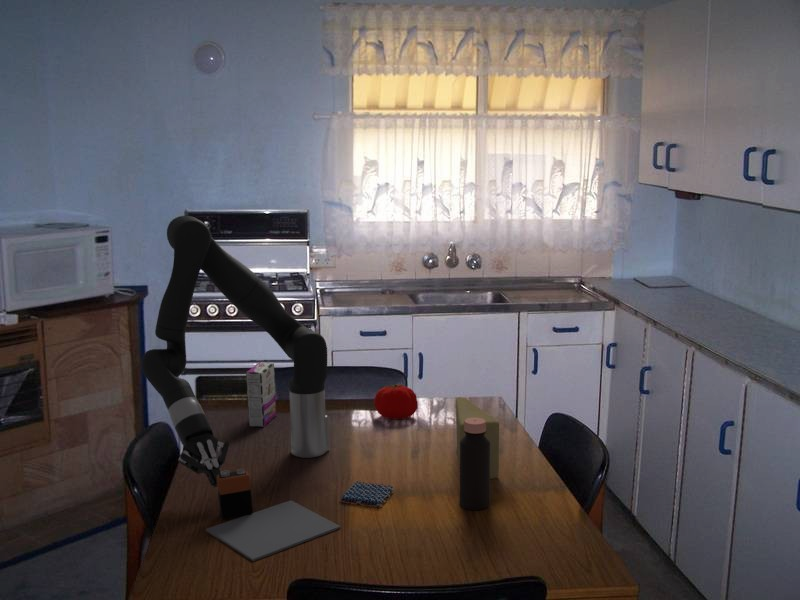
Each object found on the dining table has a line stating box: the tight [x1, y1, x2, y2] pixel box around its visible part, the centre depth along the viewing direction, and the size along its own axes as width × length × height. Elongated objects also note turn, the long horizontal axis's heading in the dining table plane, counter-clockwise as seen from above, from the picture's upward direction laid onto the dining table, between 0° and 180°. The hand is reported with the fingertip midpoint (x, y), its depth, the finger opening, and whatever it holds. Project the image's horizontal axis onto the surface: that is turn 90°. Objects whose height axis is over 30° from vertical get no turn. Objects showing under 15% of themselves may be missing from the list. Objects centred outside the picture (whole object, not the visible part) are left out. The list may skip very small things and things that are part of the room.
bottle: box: [459, 417, 491, 511], centre depth 204 cm, size 7×7×20 cm
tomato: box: [373, 383, 419, 420], centre depth 266 cm, size 11×13×10 cm
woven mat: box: [339, 480, 395, 508], centre depth 211 cm, size 10×11×2 cm
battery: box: [216, 468, 254, 520], centre depth 201 cm, size 4×7×10 cm, turn 109°
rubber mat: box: [205, 499, 341, 562], centre depth 194 cm, size 22×18×1 cm
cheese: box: [455, 396, 500, 480], centre depth 229 cm, size 22×10×15 cm, turn 9°
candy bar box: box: [245, 361, 278, 428], centre depth 263 cm, size 11×5×16 cm, turn 168°
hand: (218, 485), depth 205 cm, fingers closed
